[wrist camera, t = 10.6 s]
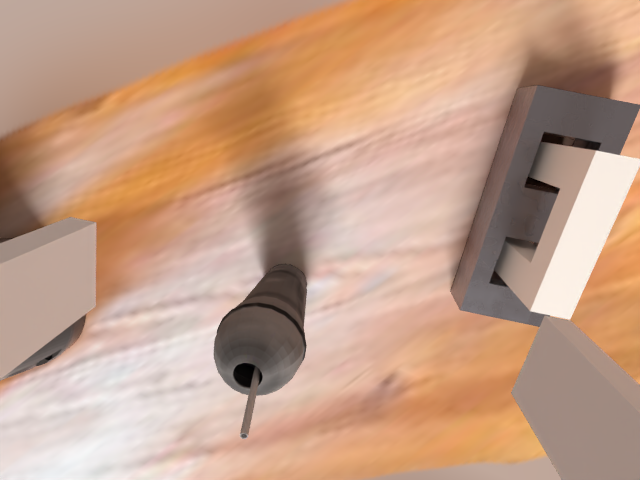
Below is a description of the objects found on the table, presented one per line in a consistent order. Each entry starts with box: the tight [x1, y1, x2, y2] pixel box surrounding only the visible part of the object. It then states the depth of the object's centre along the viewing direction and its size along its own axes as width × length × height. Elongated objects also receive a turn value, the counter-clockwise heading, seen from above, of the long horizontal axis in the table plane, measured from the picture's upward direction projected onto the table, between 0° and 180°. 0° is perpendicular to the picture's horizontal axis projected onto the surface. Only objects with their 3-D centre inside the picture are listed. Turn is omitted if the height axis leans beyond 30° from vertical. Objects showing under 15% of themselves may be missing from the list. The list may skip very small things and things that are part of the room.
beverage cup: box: [214, 264, 307, 439], centre depth 32 cm, size 7×7×20 cm
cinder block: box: [450, 85, 640, 327], centre depth 35 cm, size 8×20×4 cm, turn 169°
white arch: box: [494, 142, 640, 319], centre depth 32 cm, size 12×3×10 cm, turn 170°
